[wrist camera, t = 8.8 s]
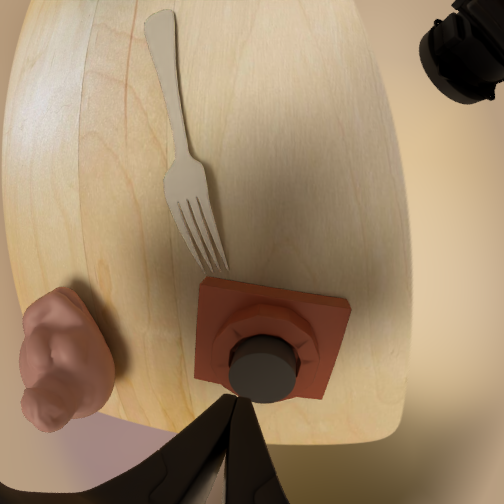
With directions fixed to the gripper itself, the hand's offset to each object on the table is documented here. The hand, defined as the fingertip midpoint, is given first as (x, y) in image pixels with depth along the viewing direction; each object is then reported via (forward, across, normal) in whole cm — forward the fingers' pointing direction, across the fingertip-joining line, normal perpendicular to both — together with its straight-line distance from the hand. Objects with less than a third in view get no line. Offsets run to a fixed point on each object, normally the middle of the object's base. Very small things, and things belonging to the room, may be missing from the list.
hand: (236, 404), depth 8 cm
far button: (+9, -1, +4) cm, 10 cm away
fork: (+12, +7, -10) cm, 17 cm away
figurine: (+12, +15, +8) cm, 21 cm away
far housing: (+12, -1, +4) cm, 13 cm away
